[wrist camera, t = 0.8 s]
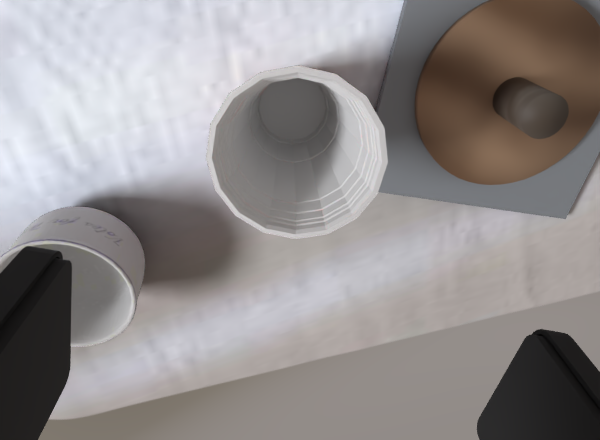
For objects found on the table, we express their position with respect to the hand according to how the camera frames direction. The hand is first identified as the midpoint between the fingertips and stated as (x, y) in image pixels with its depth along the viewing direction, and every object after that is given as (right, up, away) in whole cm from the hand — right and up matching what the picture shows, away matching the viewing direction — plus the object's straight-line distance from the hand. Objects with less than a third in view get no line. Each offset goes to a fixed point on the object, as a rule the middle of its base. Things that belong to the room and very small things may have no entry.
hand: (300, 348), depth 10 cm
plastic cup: (-1, +12, +29) cm, 31 cm away
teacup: (-20, 0, +34) cm, 40 cm away
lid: (+17, +13, +28) cm, 35 cm away
